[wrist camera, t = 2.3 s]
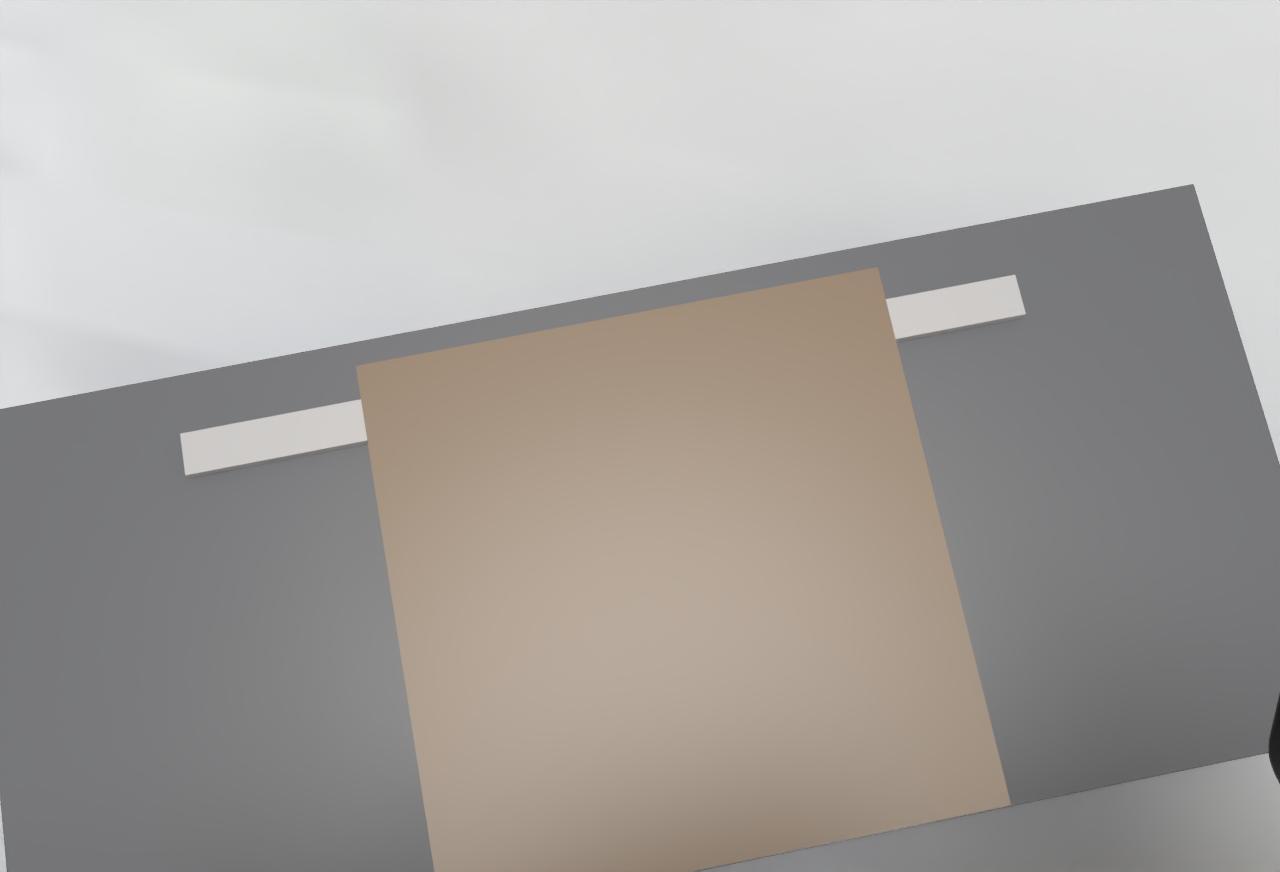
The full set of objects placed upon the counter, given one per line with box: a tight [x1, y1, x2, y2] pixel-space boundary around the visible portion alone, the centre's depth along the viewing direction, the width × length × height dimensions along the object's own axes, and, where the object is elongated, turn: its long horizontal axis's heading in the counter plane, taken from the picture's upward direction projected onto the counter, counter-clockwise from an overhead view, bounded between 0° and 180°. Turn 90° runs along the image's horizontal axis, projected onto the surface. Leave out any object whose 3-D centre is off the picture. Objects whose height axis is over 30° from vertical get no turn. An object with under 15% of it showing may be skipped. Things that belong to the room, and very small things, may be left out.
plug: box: [356, 267, 1011, 872], centre depth 14 cm, size 4×4×10 cm
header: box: [0, 184, 1280, 872], centre depth 18 cm, size 8×18×3 cm, turn 101°
